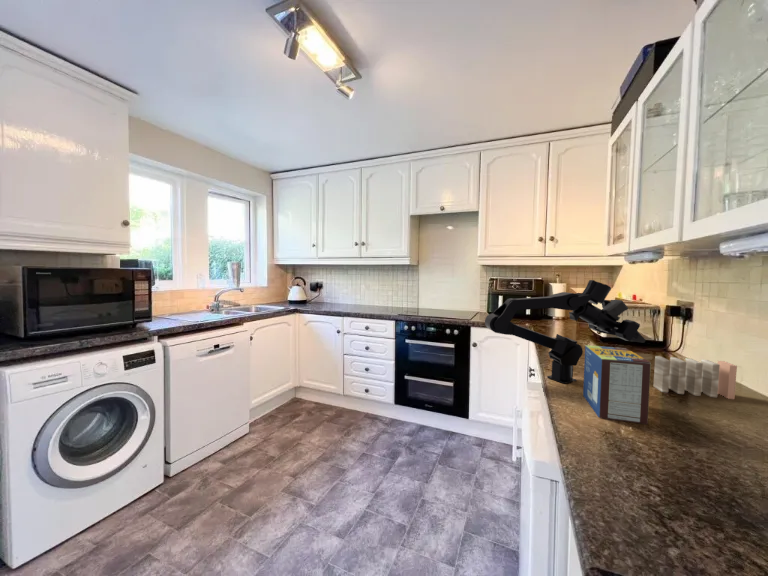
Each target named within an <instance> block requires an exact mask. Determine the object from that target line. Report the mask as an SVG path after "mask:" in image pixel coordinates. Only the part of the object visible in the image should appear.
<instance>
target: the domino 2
mask: <svg viewBox="0 0 768 576" xmlns="http://www.w3.org/2000/svg"><path fill="white" fill-rule="evenodd" d="M669 360H670V374H669V389H668V390H671V391H673V392H674V393H676V394H677V395H678V394H679V395H685V391H686V390H685V376H686V360H682V359H681V358H678V357H674V356H673V357H671V356H670V359H669Z"/></svg>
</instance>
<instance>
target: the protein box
mask: <svg viewBox="0 0 768 576" xmlns="http://www.w3.org/2000/svg"><path fill="white" fill-rule="evenodd" d="M584 347H585V348H584V366H583V367H584V369H583V387H582V389H583V392H582V393H583V394H582V396H583V397H584V399H585V400H586V402H587V403H588V405H589V406H590V407H591V409H592V410H593V412H594V413H595V414H596V416H597V417H598V418H599V419H606V420H612V421H620V422H629V423H636V424H642V425H648V423H649V407H650V388H651V387H650V386H651V373H652V372H651V369H652V367H651V366H652V363H651V361H649V360H648V359H646V358H644V357H642V356H641V355H639V354H637V353H636V352H633V351H631V350H630V349H629V348H627V347H617V346H615V347H613V346H604V345H603V346H601V345H588V344H585V345H584Z"/></svg>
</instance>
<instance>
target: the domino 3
mask: <svg viewBox="0 0 768 576" xmlns="http://www.w3.org/2000/svg"><path fill="white" fill-rule="evenodd" d="M685 362H686V376H685V390H684V391H686V392H687V391H688V392H687V393H689V394H691V395H693V396H696V397H697V396H698V397H701V394H702V392H701V382H702V368H703V363H701V361H698V360H697V359H694V358H689V357H688V358H686V357H685Z"/></svg>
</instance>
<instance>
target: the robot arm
mask: <svg viewBox="0 0 768 576" xmlns="http://www.w3.org/2000/svg"><path fill="white" fill-rule="evenodd" d="M611 290H612V287H611V286H609V285H608V284H605V283H602V282H599V281H596V280H594V279H590V280H589V281H588V282H587V285H586V286H585V288H584V290H583V291H582V292H581V293H579V292H576V293H573V292H567V291H566V292H565V291H563V292H557V293H554V294H551V295H547V296H538V297H522V298H507V299H506V300H505V301H504V303H502V304H501V305H500V306H498V307H497V308H496V309H495V310H494V311H493V312H492V313H489V314H488V315H487V316H486V317H485V319H484V326H486V328H487V329H489V330H491V331H492V332H493V333H495V334H501V335H509V336H515V337H517V338H520V339H523V340H526V341H529V342H531V343H533V344H537V345H539V346H542V347H545V348H548V349H550V351H548V352H547V353H548V356H549V359H551V360H552V361H551V375H547V378H548V379H550V380H553V381H556V382H559V383H561V384H568V383H573V382H577V379H576V378H574V366H575V367H576V366H577V365H578V363H579V360H580V358H581V357H582V355H583V352H584V351H583V348H582V345H580V344H579V343H578V341H577V340H575V339H572V338H569V337H566V336H562V335H560V334H556V335H555V337H552V336H549V335H547V334H542V333H540V332H537V331H534V330H531V329H529V328H527V327H524V326H521V325H517V324H515V323H514V322H512V319H513V318H514V316H515V315H516V313H517V312H518V311H525V310H526V311H527V310H538V309H539V310H540V309H543V310H545V309H555V310H563V311H568V314H569V319H570V320H571V321H576V322H577V321H578V320H579V318H580V319H581V320H583V321H585V322H587V324H588V328H589V329H591V330H593V331H595V332H597V333H600V334H605V335H607V334H608V335H612V336H616V337H617V338H619V339H621V340H624V341H627V342H637V343H645V342H646V339H645V337H644V336H643V335H642V334H641V333H640V332H639V331H638V329H639V328H640V327H641V324H640V323H638V322H637V321H634V320H631V319H624V320H622V321H621V322H620V321H619V320H620V318H621V317H620V315H622V314H623V313H624V312H625V311H628V309H629V307H628V306H627V304H626V303H625V302H624V300H621V299H611V300H609V299H606V298H607V296H608V295H609V293H610V292H611ZM598 304H601V308H602V309H601V308H598V307H597V305H598Z"/></svg>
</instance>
